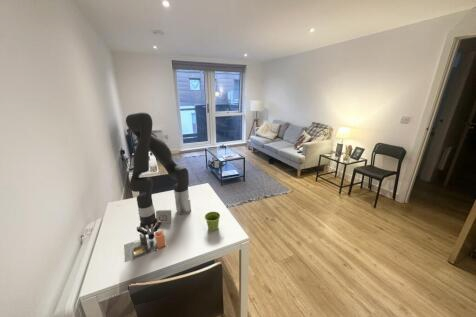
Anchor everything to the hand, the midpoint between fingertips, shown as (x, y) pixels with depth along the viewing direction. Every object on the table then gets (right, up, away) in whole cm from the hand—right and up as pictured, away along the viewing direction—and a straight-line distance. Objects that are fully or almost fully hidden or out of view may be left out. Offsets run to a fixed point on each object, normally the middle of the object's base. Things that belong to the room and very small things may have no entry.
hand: (151, 238), depth 110 cm
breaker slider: (-4, -2, -1) cm, 4 cm away
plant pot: (+33, +2, +12) cm, 35 cm away
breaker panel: (-2, -4, -3) cm, 5 cm away
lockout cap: (+6, -2, -2) cm, 7 cm away
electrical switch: (+1, +3, +17) cm, 17 cm away
